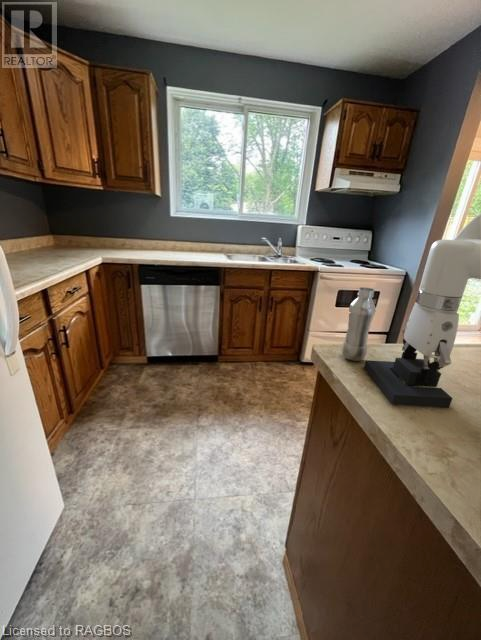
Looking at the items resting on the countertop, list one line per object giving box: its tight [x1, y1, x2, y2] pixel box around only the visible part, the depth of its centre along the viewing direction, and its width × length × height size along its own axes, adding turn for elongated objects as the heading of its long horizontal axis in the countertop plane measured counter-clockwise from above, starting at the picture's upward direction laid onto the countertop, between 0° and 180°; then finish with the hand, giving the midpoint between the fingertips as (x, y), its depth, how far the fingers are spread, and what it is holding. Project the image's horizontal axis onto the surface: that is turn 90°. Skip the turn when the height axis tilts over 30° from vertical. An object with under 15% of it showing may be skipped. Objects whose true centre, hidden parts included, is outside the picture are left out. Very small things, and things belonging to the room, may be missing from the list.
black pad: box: [393, 357, 442, 388], centre depth 63 cm, size 7×7×4 cm
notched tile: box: [363, 359, 453, 409], centre depth 64 cm, size 12×15×2 cm
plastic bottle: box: [341, 287, 377, 362], centre depth 73 cm, size 6×7×20 cm
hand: (414, 374), depth 63 cm, fingers closed on black pad, 6 cm apart
